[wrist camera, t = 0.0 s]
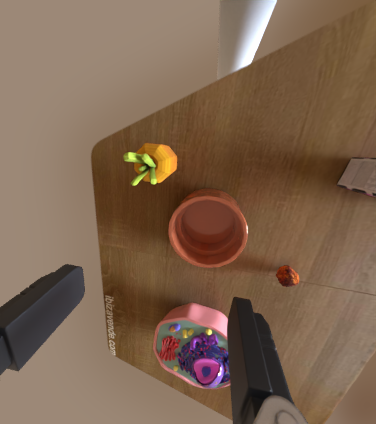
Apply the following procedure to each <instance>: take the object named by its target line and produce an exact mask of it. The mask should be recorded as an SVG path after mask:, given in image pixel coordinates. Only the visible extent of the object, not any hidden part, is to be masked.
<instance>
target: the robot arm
mask: <svg viewBox="0 0 376 424" xmlns="http://www.w3.org/2000/svg"><path fill="white" fill-rule="evenodd" d="M84 292H85V286H84V276H83V269H82V267H79V266H74V265H69V264H66V265H64V266H62V267H61V268H60V269H58V270H57V271H56V272H53V273H50V274H48V275H46V276H44V277H41V278H40V279H38V280H37V281H36V282H34V283H33V284H31V285H30V286H29V288H26V289H25V290H23V291H22V292H20V294H18V295H16V296H15V297H14V298H12V299H11V300H10V301H8V302H7V303H6V304H4V305H3V306H1V307H0V375H1V374H2V373H3V372H4V371H5V370H6V369H11V370H15V371H19V370H20V369H21V368H22V367H23V366H24V365H25V363H26V362H27V361H28V360H29V359H30V358H31V357H32V356H33V354H34V353H35V352H36V351H37V350H38V349H39V348H40V346H41V345H42V344H43V343H44V342H45V341H46V340H47V339H48V337H49V336H50V335H51V334H52V333H53V332H54V331H55V330H56V328H57V327H58V326H59V325H60V324H61V323H62V322H63V321H64V319H65V318H66V317H67V316H68V315H69V314H70V313H71V312H72V310H73V309H74V308H75V307H76V306H77V305H78V304H79V303H80V301H81V300H82V298H83V296H84ZM227 343H228V357H229V372H230V387H231V401H232V416H233V424H308V422H307V421H306V419H305V417H304V416H303V414H302V413H301V412H300V411H299V409H298V408H297V407H296V406H295V405H294V402H293V400H292V398H291V395H290V392H289V389H288V386H287V382H286V379H285V376H284V373H283V369H282V366H281V363H280V360H279V357H278V353H277V350H276V347H275V344H274V341H273V339H272V334H271V331H270V328H269V325H268V323H267V322H266V320H265V319H264V318H263V316H262V315H261V314H259V313H254V312H253V309H252V304H251V301H250V300H249V299H244V298H238V297H234V298H233V301H232V305H231V309H230V313H229V317H228V322H227Z"/></svg>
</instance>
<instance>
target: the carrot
mask: <svg viewBox="0 0 376 424" xmlns="http://www.w3.org/2000/svg"><path fill="white" fill-rule="evenodd" d="M123 158H124V161H128V162H134V170H135V171H136V172H137V173H138V174H139V175H138V176H136V177H135V178H134V180H133V181H132V182H131V183H130V184H131V185H133V186H136V185H137V184H138V183H139V181H140V180H141V179H143V180H144V181H148V182H151V184H156V183H160V182H162V181H163V180H165V179H166V178H167V177H168V176H169V175H170V174H172V173H173V172H174V171H175V170H176V168H177V156H176V155H175V153H174V152H173V151H172V149H171V148H170V147H169V146H166V145H162V144H152V143H145V144H144V145H143V146H142V147H141V148H140V149H139V150H138V151H137V152H136V153H130V152H128V153H125V154H124V157H123Z"/></svg>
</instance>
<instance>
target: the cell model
mask: <svg viewBox="0 0 376 424" xmlns="http://www.w3.org/2000/svg"><path fill="white" fill-rule="evenodd" d="M227 322H228V318H227V317H226V316H225V315H224V314H223V313H221V312H220V311H218V310H215V309H212V308H209V307H207V306H203V305H200V304H197V303H188V304H184V305H181V306H178V307H176V308H174V309H172V310H171V311H170V312H168V314H167V315H166V316H165V317H164V318H163V319H162V320H161V322H160V323H159V324H158V325H157V328H156V332H155V337H154V345H153V349H154V352H155V354H156V356H157V358H158V360H159V363H160V364H161V366H162V367H163V368H164V369H165V370H166V371H168V372H170V373H172V374H174V375H175V376H177V377H179V378H181V379H183V380H184V381H186V382H187V383H189V384H191V385H193V386H196V387H199V388H204V389H220V388H224V387H226V386H229V385H230V372H229V357H228V343H227Z"/></svg>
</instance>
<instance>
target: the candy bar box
mask: <svg viewBox="0 0 376 424" xmlns="http://www.w3.org/2000/svg"><path fill="white" fill-rule="evenodd" d="M337 186H338V187H342V188H345V189H349V190H352V191H355V192H359V193H363V194H366V195H369V196H373V197H376V158H356V157H352V158H351V159H350V161H349V163H348V164H347V166H346V169H345V171H344V173H343V174H342V176H341V178H340V180H339V182H338V183H337Z"/></svg>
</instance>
